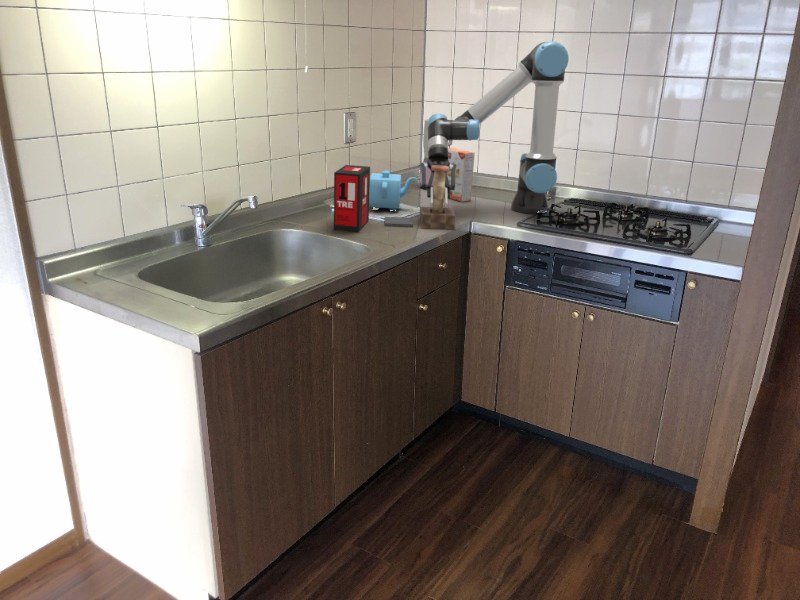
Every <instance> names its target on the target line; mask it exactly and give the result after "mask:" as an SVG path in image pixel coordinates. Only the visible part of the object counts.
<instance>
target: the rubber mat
mask: <svg viewBox="0 0 800 600" xmlns="http://www.w3.org/2000/svg"><path fill="white" fill-rule="evenodd" d="M384 226H385V227H399V228H400V227H403V228H413V227H414V223H413V218H412V217H409V216H408V217H401V216H384Z"/></svg>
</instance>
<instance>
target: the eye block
mask: <svg viewBox="0 0 800 600" xmlns="http://www.w3.org/2000/svg"><path fill="white" fill-rule="evenodd" d="M419 224H420V228H421V229H436V230H438V229H439V230H455V229H456V228H455V224H456V214H455V212H454V209H453V208H452V207H443V213H432V207H430V206H420V207H419Z"/></svg>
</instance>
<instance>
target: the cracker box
mask: <svg viewBox="0 0 800 600" xmlns="http://www.w3.org/2000/svg"><path fill="white" fill-rule="evenodd" d="M475 154H476V153H475V152H473V151H469V150H465V149H460V148H456V147H455V148H454V147H448V161H449V163H450V164H451V165H454V164H456V165H457V166H456V170H455V189H454V190H450V198H449V199H450V200H454V201H457V202H459V203H465V202H469V201H470V202H471V199H472V187H473V177H474V163H475ZM446 173H447V177H448V180H449V183H450V185H451V171H450V168H449V171H447V172H446ZM445 188H446V187H445ZM444 191H445V189H444Z"/></svg>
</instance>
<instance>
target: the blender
mask: <svg viewBox="0 0 800 600" xmlns="http://www.w3.org/2000/svg"><path fill="white" fill-rule="evenodd" d="M428 121H429V118H428V119H425V120H424V127H423V137H422V138H423V139H422V141H423V143H422V145H423V154H424V155H423V156H424V157H423V161H422V162H421V163H424V164H425V163H427V162H428ZM453 141H454V140H448V147H450V146H452V144H453ZM419 174H420V175H419V176H420V177H419V188H420V189H422V171H421V170H420V173H419ZM430 175H431V170H430V169H429V168H428V167H427V169H426V184H428V182H429V178H430ZM431 187H434V178H433V181H432V185H431Z"/></svg>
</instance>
